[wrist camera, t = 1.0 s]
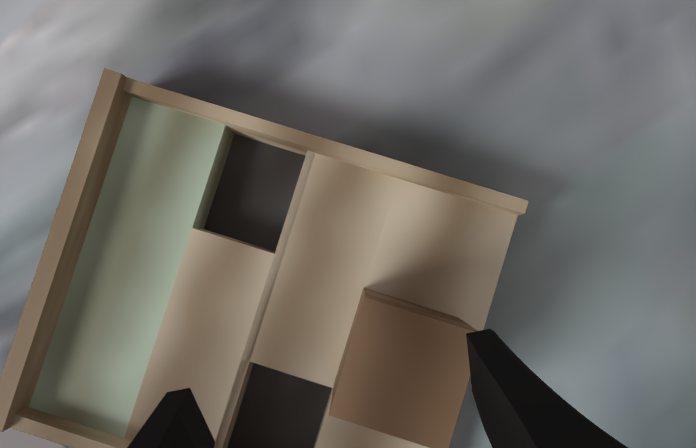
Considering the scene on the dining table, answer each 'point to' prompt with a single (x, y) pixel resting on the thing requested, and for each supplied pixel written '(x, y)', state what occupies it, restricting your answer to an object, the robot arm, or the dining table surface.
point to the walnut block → (403, 370)
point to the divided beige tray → (231, 273)
